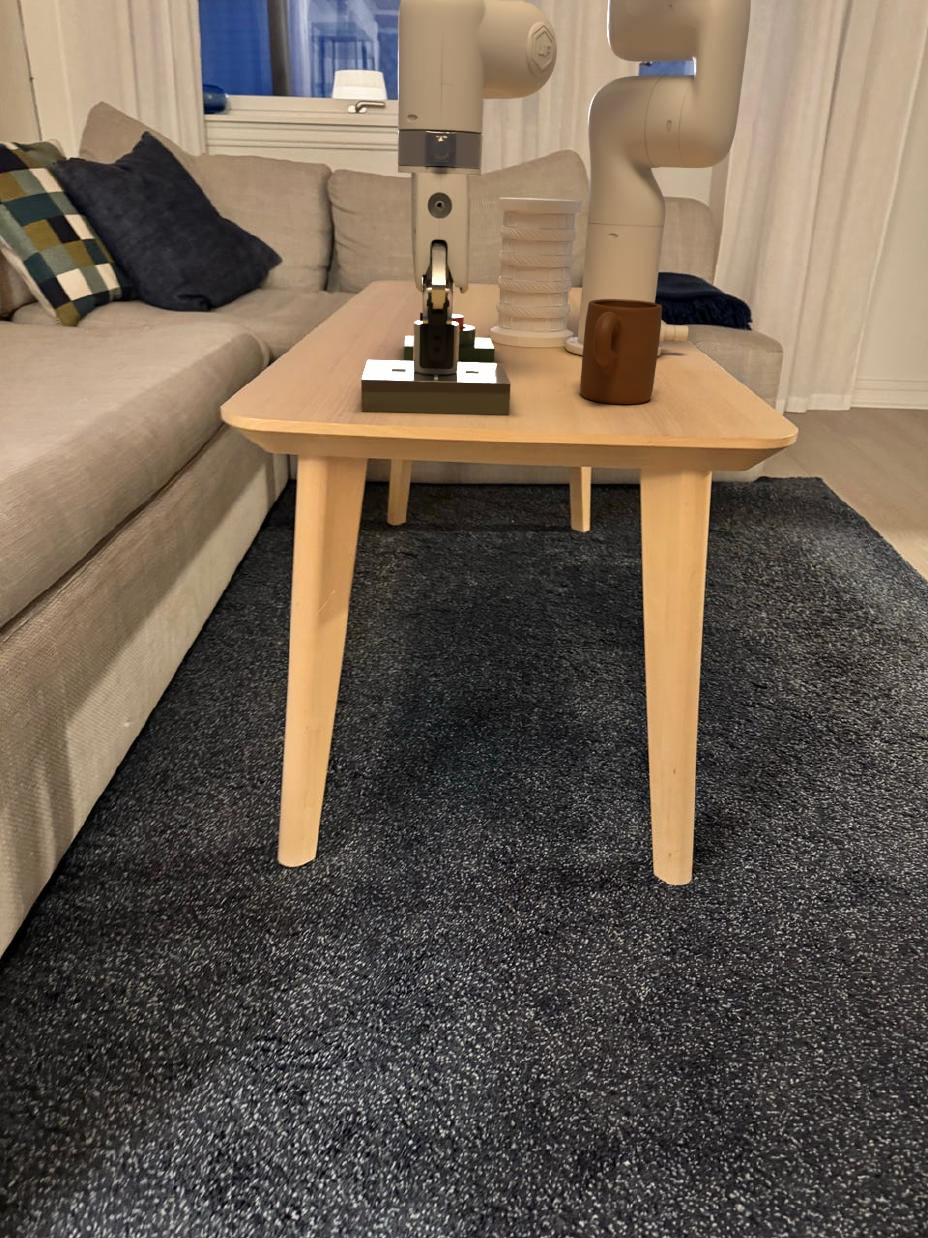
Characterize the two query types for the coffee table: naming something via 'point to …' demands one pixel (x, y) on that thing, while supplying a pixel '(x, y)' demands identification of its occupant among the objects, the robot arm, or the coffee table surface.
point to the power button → (458, 320)
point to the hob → (435, 389)
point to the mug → (620, 350)
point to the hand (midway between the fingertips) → (435, 359)
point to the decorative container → (535, 271)
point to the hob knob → (417, 350)
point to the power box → (463, 347)
